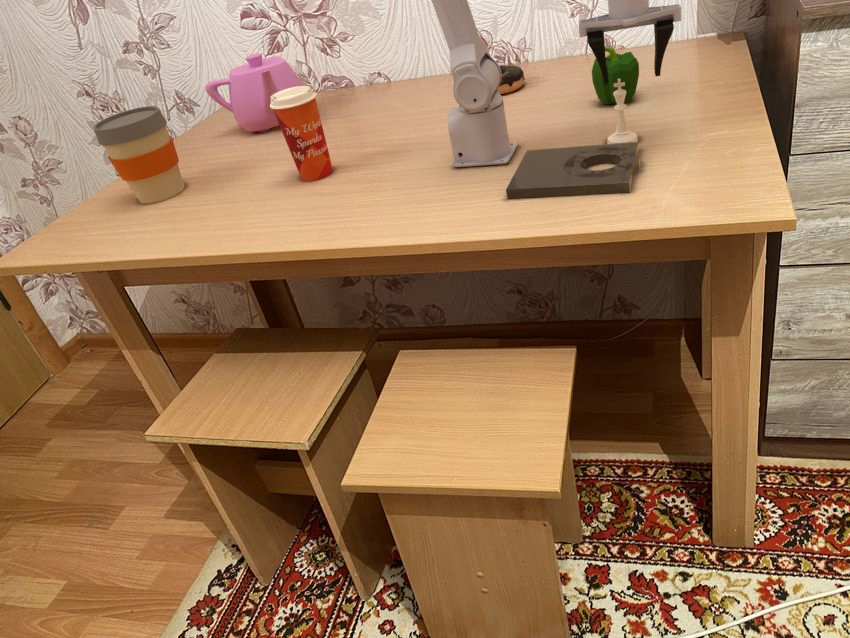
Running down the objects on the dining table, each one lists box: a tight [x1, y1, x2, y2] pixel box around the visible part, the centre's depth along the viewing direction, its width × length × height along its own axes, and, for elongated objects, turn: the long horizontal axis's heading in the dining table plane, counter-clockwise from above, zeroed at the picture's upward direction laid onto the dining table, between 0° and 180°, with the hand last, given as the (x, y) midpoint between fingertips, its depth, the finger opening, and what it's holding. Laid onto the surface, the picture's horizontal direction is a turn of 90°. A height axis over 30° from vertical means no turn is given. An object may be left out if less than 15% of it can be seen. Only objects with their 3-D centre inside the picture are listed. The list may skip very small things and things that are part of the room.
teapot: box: [204, 52, 304, 133], centre depth 155 cm, size 23×21×15 cm
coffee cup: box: [270, 85, 334, 182], centre depth 124 cm, size 8×8×15 cm
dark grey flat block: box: [505, 141, 641, 200], centre depth 106 cm, size 19×15×2 cm
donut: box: [497, 64, 526, 95], centre depth 149 cm, size 11×12×4 cm
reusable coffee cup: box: [92, 105, 185, 204], centre depth 132 cm, size 13×13×15 cm
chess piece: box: [606, 79, 639, 144], centre depth 111 cm, size 5×5×10 cm
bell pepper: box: [591, 45, 640, 105], centre depth 127 cm, size 8×8×10 cm
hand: (631, 78), depth 107 cm, fingers open, 7 cm apart
